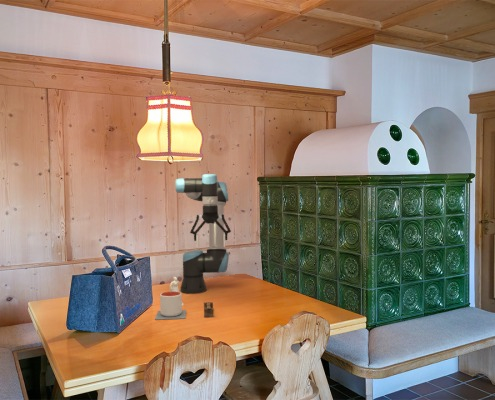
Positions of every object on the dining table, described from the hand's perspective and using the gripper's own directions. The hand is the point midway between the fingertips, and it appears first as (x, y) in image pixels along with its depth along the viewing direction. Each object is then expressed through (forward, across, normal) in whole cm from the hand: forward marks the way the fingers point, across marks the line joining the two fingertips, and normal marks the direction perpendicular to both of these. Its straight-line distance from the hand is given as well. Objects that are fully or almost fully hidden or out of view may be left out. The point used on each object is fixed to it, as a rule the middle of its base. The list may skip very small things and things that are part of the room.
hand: (210, 247), depth 241 cm
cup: (+31, -20, -11) cm, 38 cm away
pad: (+31, -20, -11) cm, 38 cm away
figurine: (+31, -19, +8) cm, 37 cm away
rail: (+31, -2, -11) cm, 33 cm away
